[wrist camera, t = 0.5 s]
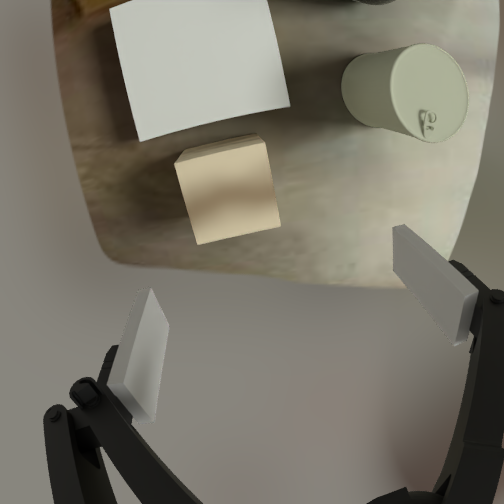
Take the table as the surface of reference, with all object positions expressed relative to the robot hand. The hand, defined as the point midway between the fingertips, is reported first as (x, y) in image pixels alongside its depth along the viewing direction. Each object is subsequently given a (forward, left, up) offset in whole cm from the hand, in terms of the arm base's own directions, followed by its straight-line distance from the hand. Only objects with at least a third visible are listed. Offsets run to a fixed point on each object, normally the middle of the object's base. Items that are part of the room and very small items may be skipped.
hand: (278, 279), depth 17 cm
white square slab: (-15, -2, -22) cm, 26 cm away
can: (-8, +17, -22) cm, 29 cm away
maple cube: (-1, -2, -22) cm, 22 cm away
